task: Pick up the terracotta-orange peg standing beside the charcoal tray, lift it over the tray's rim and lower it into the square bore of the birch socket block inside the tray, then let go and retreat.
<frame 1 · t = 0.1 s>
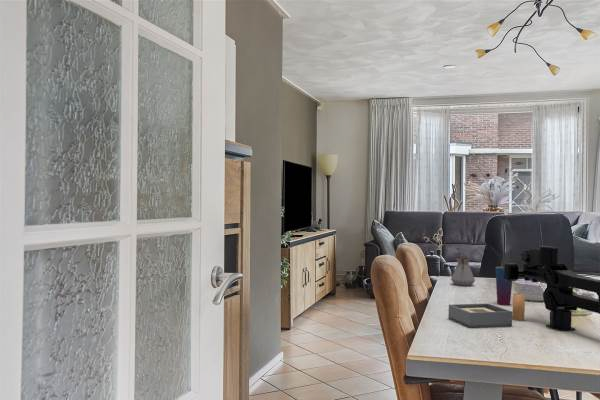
hand: (513, 269, 202), 17 cm above the table, tool horizontal, fingers open, 9 cm apart
peg: (518, 319, 190), on the table
grey tied sack: (462, 286, 262), on the table
socket tray: (479, 322, 184), on the table
cup: (503, 304, 218), on the table
paper bowls: (532, 299, 231), on the table
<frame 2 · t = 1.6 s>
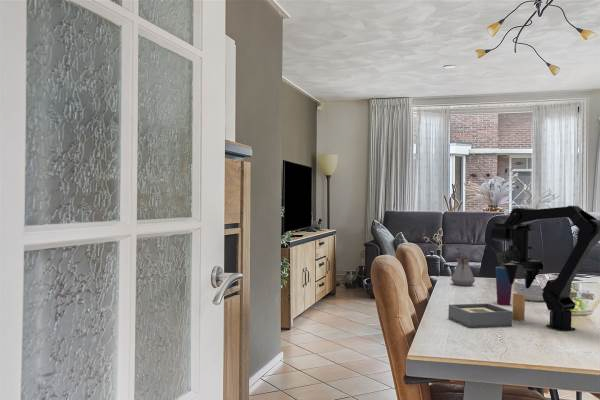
hand: (519, 286, 190), 12 cm above the table, tool pointing down, fingers open, 9 cm apart
nothing on the table moved.
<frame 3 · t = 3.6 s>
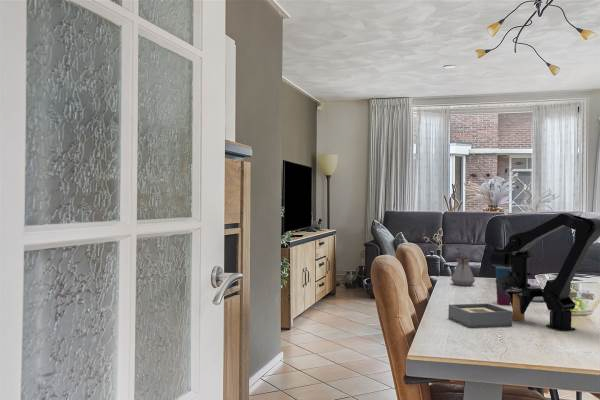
hand: (518, 312, 190), 3 cm above the table, tool pointing down, fingers closed on peg, 4 cm apart
peg: (518, 319, 190), on the table, touching gripper
everything else where it was.
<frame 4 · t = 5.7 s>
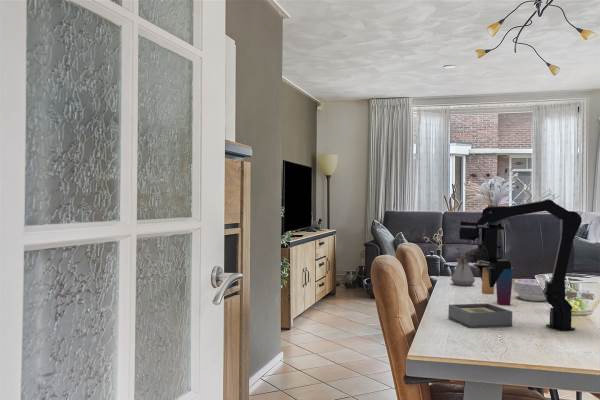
hand: (487, 286, 186), 12 cm above the table, tool pointing down, fingers closed on peg, 4 cm apart
peg: (487, 293, 186), point 10 cm above the table, touching gripper
everything else where it was.
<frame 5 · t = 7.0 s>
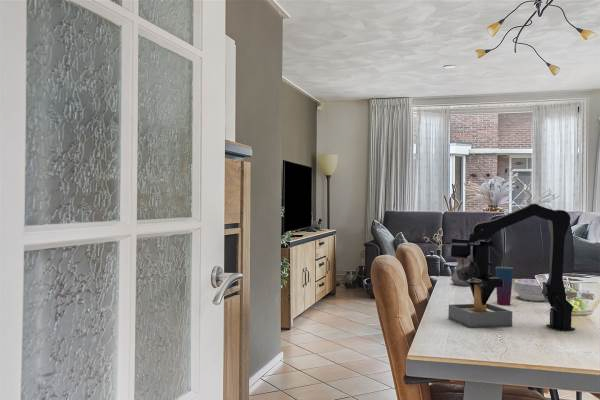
hand: (480, 303, 184), 6 cm above the table, tool pointing down, fingers closed on peg, 4 cm apart
peg: (479, 310, 184), point 4 cm above the table, touching gripper
everything else where it was.
when the fingers open (5 cm above the table, at t = 8.0 s): peg drops 2 cm, resting on socket tray.
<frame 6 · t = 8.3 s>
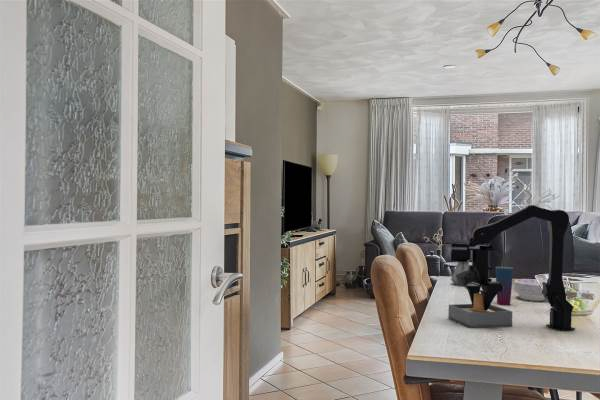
hand: (479, 308, 184), 5 cm above the table, tool pointing down, fingers open, 7 cm apart
peg: (479, 319, 184), point 1 cm above the table, touching socket tray
everything else where it was.
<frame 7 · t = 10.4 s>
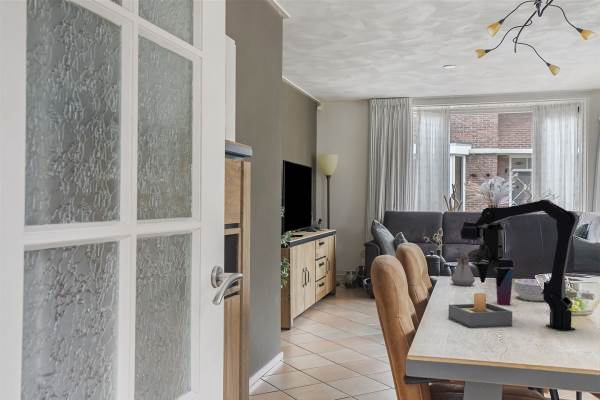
hand: (490, 284, 192), 12 cm above the table, tool pointing down, fingers open, 9 cm apart
nothing on the table moved.
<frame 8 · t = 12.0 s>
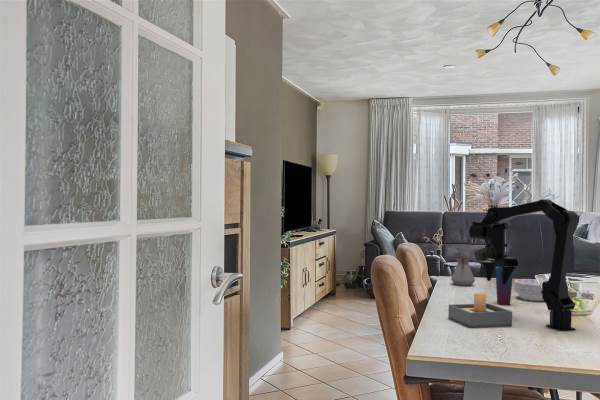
hand: (496, 282, 197), 12 cm above the table, tool pointing down, fingers open, 9 cm apart
nothing on the table moved.
at the end: peg 0.0 cm off-centre on the socket tray, point 0.8 cm above the socket tray's base; peg tilted 0°; the gripper is holding nothing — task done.
